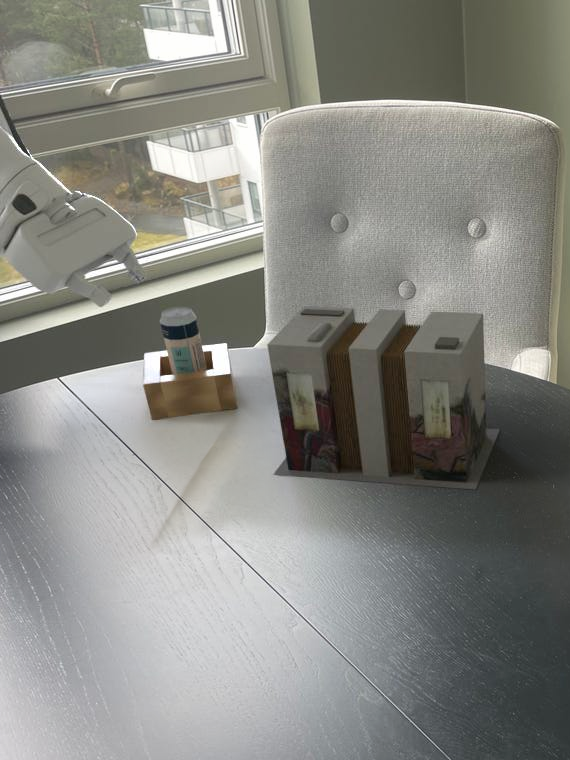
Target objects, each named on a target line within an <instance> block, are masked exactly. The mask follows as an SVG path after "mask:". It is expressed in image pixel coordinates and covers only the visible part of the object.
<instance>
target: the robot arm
mask: <svg viewBox="0 0 570 760" xmlns="http://www.w3.org/2000/svg"><path fill="white" fill-rule="evenodd" d="M137 235H138V234H137V231H136V229H135V227H134V226H133V225H132V223H130V222H129V221H128V220H127V219H126V218H124V217H123V216H122V215H121V214H120V213H119V212H118V211H116V210H115V209H113V208H112V207H111V206H110V205H109V204H107V203H106V202H105V201H103V200H101V199H100V198H99V197H96V196H93V195H90V194H86V193H81V192H80V191H72V192H71V191H70V190H69V189H67V188H66V187H65V186H64V185H63V184H62V182H60V181H59V180H58V179H57V178H56V177H55V176H54V175H52V173H51V172H50V171H48V170H47V168H46V167H44V166H43V165H42V164H41V163H40V162H39V161H37V160H36V159H34V158H33V156H32V155H31V153H30V152H29V150H28V148H27V147H26V145H25V144H24V142H23V140H22V138H21V136H20V134H19V132H18V129H17V127H16V126H15V123H14V121H13V119H12V116H11V114H10V112H9V110H8V108H7V106H6V104H5V102H4V99H3V97H2V95H1V94H0V255H3V254H4V257H5V259H6V261H7V262H8V264H9V265H10V266H11V267H12V268H14V270H16V272H18V274H19V275H21V276H22V277H23V278H24V279H25V280H26V281H27V282H28V283H30V284H31V285H32V286H33V287H34V288H36V289H37V290H38V291H41V292H43V293H46V294H48V295H49V294H50V295H52V294H54V293H56V292H58V291H59V290H61V289H64V287H67V288H68V289H69V290H70V291H72V292H73V293H75V294H77V295H80V296H82V297H84V298H87V299H90V300H91V301H92V303H94V304H95V305H96V306H97V307H99V308H103V307H104V306H106V305H108V303H109V302H110V301H111V299H112V297H113V296H112V293H110V291H108V290H107V289H106V288H105V287H104V286H103V285H102V284H101V285H100V286H97V285H96V284H94V283H92V282H90V280H89V281H88V280H87V279H86V276H85V275H87V274H89V273H91V272H92V271H94V270H96V269H98V268H99V267H101V266H103V265H105V264H106V263H108V262H110V261H111V260H113V259H115V260H116V261H117V262H118V263H119V264H123V265H124V267H125V269H126V270H127V272H128V273H127V274H126V276H127V277H128V278H129V279H130V280H132V281H133V282H134V283H135V284H140V283H141V282H143V281H145V279H146V277H148V275H149V274H148V270H147V269H146V268H144V266H142V265H141V264H140V262H139V260H138V257H137V256H136V254H135V252H134V250H133V249H132V248H131V246H132V244H133V243H134V241H135V240H136V238H137Z"/></svg>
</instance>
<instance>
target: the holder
mask: <svg viewBox="0 0 570 760" xmlns="http://www.w3.org/2000/svg"><path fill="white" fill-rule="evenodd" d="M202 348H203V352H204V357H205V362H206V367H207V370H206V371H198V372H190V373H182V374H173V375H172V370H171V366H170V362H169V358H168V353H167V350H161V351H160V350H159V351H150V352H144V355H143V375H142V386H143V390H144V394H145V398H146V402H147V407H148V410H149V415H150V418H151V420H158V419H159V420H160V419H166V418H174V417H182V416H190V415H198V414H206V413H213V412H221V411H228V410H234V409H238V401H237V395H236V387H235V381H234V373H233V368H232V363H231V358H230V355H229V349H228V343H227V342H226V343H217V344H208V345H202Z"/></svg>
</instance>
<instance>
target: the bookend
mask: <svg viewBox="0 0 570 760" xmlns="http://www.w3.org/2000/svg"><path fill="white" fill-rule="evenodd" d="M429 312H430V313H429V314H428V316H427V317H426V318H425V320H424V321H423V323H422V324H408V323H407V319H406V310H405V309H384V308H383V309H381V308H380V309H379V310H377V312H376V313H375V314H374V316H373V317H372V318H371V320H370V321H369V322H362V321H356V315H355V314H356V313H355V308H353V307H332V306H331V307H330V306H310V305H309V306H307V305H304V306H303V307H302V308H300V310H299V311H298V312H297V313H296V314H295V315H294V316H293V317H292V318H291V319H290V320H289V321H288V322H287V323H286V324H285V325H284V326H283V328H281V330H280V331H279V332H278V333H276V335H274V337H272V338H271V340H270V341H269V342H268V343H267V352H268V357H269V358H268V359H269V364H270V369H271V375H272V381H273V386H274V394H275V398H276V405H277V411H278V417H279V423H280V429H281V434H282V440H283V447H284V452H285V453H284V454H285V457H284V459H283V461H282V462H281V464H279V466H278V467H277V469H276V470H275V471H274V472H273V475H274V476H287V477H288V476H289V477H300V478H314V479H327V480H329V479H330V480H340V481H341V480H342V481H353V482H354V481H355V482H368V483H381V484H395V485H396V484H397V485H409V486H419V487H420V486H421V487H422V486H423V487H434V488H448V489H462V490H475V491H476V489H477V487H478V484H479V482H480V480H481V478H482V475H483V473H484V470H485V467H486V465H487V462H488V460H489V458H490V455H491V453H492V450H493V448H494V446H495V444H496V443H495V442H496V441H497V438H498V435H499V433H500V431H501V429H499V428H487V405H486V403H487V402H486V401H487V400H486V370H485V369H486V368H485V366H486V365H485V333H484V332H485V330H484V313H475V312H474V313H473V312H451V311H429Z"/></svg>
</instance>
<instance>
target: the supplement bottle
mask: <svg viewBox="0 0 570 760" xmlns="http://www.w3.org/2000/svg"><path fill="white" fill-rule="evenodd" d="M160 315H161V316H160V319H159V324H160V328H161V332H162V336H163V340H164V344H165V348H166V351H167V353H168V358H169V362H170V366H171V370H172V375H173V374H182V373H190V372H198V371H206V370H207V367H206V362H205V357H204V352H203V348H202V346H203V344H202V339H201V334H200V329H199V325H198V319H197V315H196V314H195V312H194V311H193V310H192V308H190V307H188V306H175V307H169V308H167V309H164V310H162V311H161V314H160Z"/></svg>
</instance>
